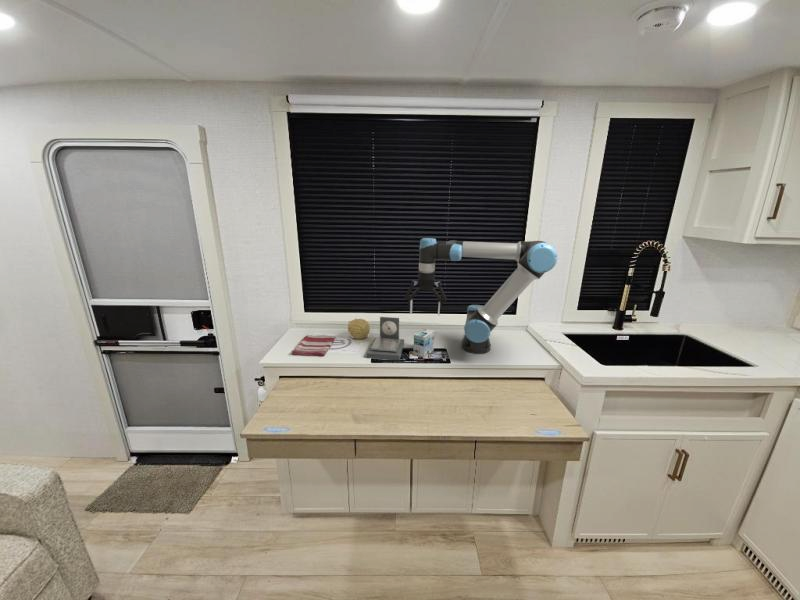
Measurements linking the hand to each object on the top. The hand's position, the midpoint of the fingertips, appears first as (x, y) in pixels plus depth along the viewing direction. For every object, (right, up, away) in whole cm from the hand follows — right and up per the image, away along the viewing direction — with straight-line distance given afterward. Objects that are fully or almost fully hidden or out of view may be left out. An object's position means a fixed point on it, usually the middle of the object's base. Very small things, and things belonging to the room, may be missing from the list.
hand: (424, 313), depth 160 cm
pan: (-19, -17, +5) cm, 26 cm away
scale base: (-19, -19, +7) cm, 28 cm away
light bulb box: (0, -20, +6) cm, 21 cm away
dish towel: (-57, -18, +11) cm, 61 cm away
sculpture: (-35, -14, +24) cm, 45 cm away
